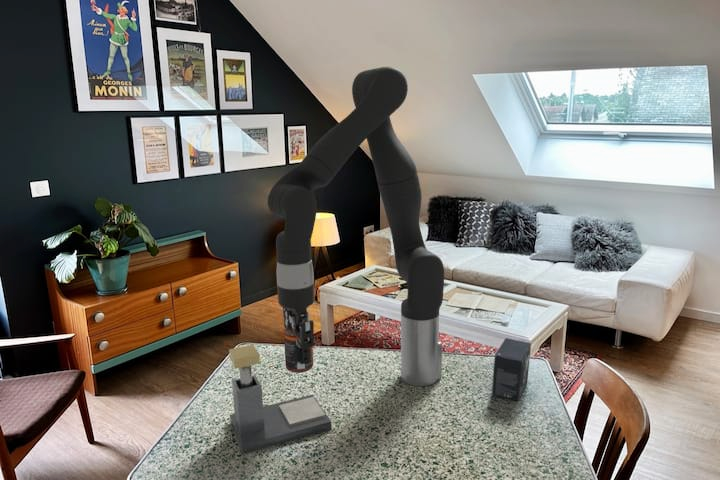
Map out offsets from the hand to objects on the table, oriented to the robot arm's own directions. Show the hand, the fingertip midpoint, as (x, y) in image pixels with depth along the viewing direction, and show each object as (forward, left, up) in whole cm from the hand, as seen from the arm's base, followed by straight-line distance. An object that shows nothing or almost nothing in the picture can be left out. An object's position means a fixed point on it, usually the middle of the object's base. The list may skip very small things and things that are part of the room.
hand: (299, 356), depth 116 cm
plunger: (+12, 0, -8) cm, 14 cm away
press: (+5, 0, -15) cm, 16 cm away
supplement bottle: (0, 0, -3) cm, 3 cm away
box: (-49, +9, -16) cm, 53 cm away
